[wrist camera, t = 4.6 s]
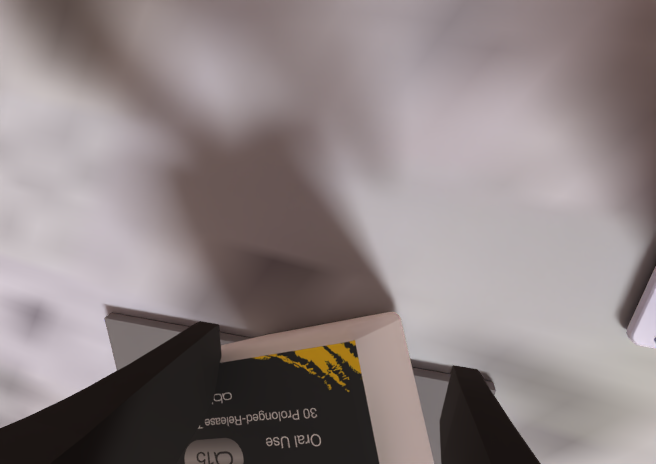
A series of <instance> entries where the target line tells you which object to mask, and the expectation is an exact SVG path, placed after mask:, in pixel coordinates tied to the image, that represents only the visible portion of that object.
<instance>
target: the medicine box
mask: <svg viewBox="0 0 656 464" xmlns="http://www.w3.org/2000/svg"><path fill="white" fill-rule="evenodd" d="M221 354H222V356H221V360H220V365H219V371H218V377H217V383H216V389H215V395H214V400H213V402H212V404H211V406H210V408H209V411H208V412H207V414H206V416H205V417H204V419H203V421H202V422H201V424H200V426H199V427H198V429H197V431H196V432H195V434H194V435H193V437H192V439H191V440H190V442H189V444H188V445H187V447H186V448H185V450H184V452H183V453H182V455H181V456H180V458H179V460H178V461H177V463H176V464H434V461H433V456H432V452H431V448H430V443H429V439H428V435H427V430H426V426H425V422H424V417H423V413H422V409H421V404H420V400H419V396H418V391H417V387H416V383H415V378H414V374H413V370H412V365H411V361H410V357H409V352H408V348H407V344H406V339H405V335H404V331H403V326H402V322H401V318H400V316H399V315H398V314H397V313H395V312H386V313H381V314H376V315H370V316H365V317H359V318H354V319H349V320H343V321H338V322H333V323H327V324H322V325H316V326H311V327H306V328H300V329H295V330H290V331H284V332H279V333H274V334H268V335H263V336H259V337H255V338H251V339H247V340H242V341H238V342H234V343H230V344H225V345H221Z"/></svg>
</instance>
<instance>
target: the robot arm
mask: <svg viewBox="0 0 656 464" xmlns="http://www.w3.org/2000/svg"><path fill="white" fill-rule="evenodd" d="M626 333H627V335H628V337H629V338H630V339H631V340H632V342H634V343H635V344H636V345H639V346H643V347H650V348H656V338H654V337H655V336H656V266H655V269H654V271H653V273H652V275H651V277H650V280H649V282H648V284H647V286H646V288H645V291H644V293H643V295H642V297H641V299H640V301H639V304H638V306H637V308H636V310H635V312H634V315H633V317H632V319H631V321H630V323H629V326H628V328H627V332H626ZM221 356H222V354H221V342H220V331H219V325H218V324H212V323H207V322H201V321H200V322H198V323H196V324H194V325H192V326H191V327H189V328H187V329H186V330H184V331H182V332H181V333H179V334H178V335H176V336H174V337H173V338H171V339H169V340H168V341H166V342H165V343H163V344H161V345H160V346H158V347H156V348H155V349H153V350H151V351H150V352H148V353H146V354H145V355H143V356H142V357H140V358H138V359H137V360H135V361H133V362H132V363H130V364H128V365H127V366H125V367H123V368H121V369H119V370H118V371H116V372H114V373H112V374H110V375H109V376H107V377H105V378H103V379H101V380H100V381H98V382H96V383H94V384H92V385H91V386H89V387H87V388H85V389H83V390H81V391H80V392H78V393H76V394H74V395H72V396H70V397H68V398H66V399H64V400H62V401H60V402H58V403H56V404H53V405H51V406H49V407H47V408H45V409H43V410H41V411H39V412H37V413H35V414H32V415H30V416H28V417H26V418H24V419H21V420H19V421H17V422H14V423H12V424H10V425H7V426H5V427H2V428H0V464H176V463H177V461H178V460H179V458H180V456H181V455H182V453H183V452H184V450H185V448H186V447H187V445H188V444H189V442H190V440H191V439H192V437H193V435H194V434H195V432H196V431H197V429H198V427H199V426H200V424H201V422H202V421H203V419H204V417H205V416H206V414H207V412H208V411H209V408H210V406H211V404H212V402H213V400H214V395H215V389H216V383H217V377H218V371H219V365H220V360H221ZM439 423H440V448H441V464H541V463H540V462H539V461H538V459H537V458H536V457H535V455H534V454H533V452H532V451H531V450H530V448H529V447H528V445H527V444H526V442H525V441H524V440H523V438H522V437H521V435H520V434H519V432H518V431H517V429H516V428H515V427H514V425H513V424H512V422H511V421H510V419H509V418H508V416H507V415H506V413H505V411H504V410H503V408H502V407H501V405H500V404H499V402H498V401H497V399H496V398H495V396H494V394H493V393H492V391H491V390H490V388H489V386H488V385H487V383H486V382H485V380H484V378H483V377H482V375H481V374H480V372H479V371H478V370H477V369H471V368H466V367H460V366H454V365H453V367H452V371H451V375H450V379H449V383H448V388H447V392H446V396H445V400H444V404H443V408H442V413H441V417H440V421H439Z"/></svg>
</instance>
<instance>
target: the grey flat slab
mask: <svg viewBox="0 0 656 464" xmlns="http://www.w3.org/2000/svg"><path fill="white" fill-rule="evenodd" d="M105 323H106V327H107V331H108V335H109V339H110V343H111V347H112V352H113V356H114V360H115V364H116V368H117V371H118V370H119V369H121V368H123V367H125V366H127V365H128V364H130V363H132V362H133V361H135V360H137V359H138V358H140V357H142V356H143V355H145V354H146V353H148V352H150V351H151V350H153V349H155V348H156V347H158V346H160V345H161V344H163V343H165V342H166V341H168V340H169V339H171V338H173V337H174V336H176V335H178V334H179V333H181V332H182V331H184V330H186V329H187V328H189V327H187V326H182V325H176V324H171V323H165V322H160V321H154V320H149V319H143V318H138V317H132V316H127V315H121V314H116V313H110V314H109V315H108V316H106V317H105ZM247 339H251V338H248V337H242V336H237V335H231V334H226V333H220V342H221V345H225V344H230V343H234V342H238V341H242V340H247ZM412 370H413V374H414V378H415V383H416V387H417V391H418V396H419V400H420V404H421V409H422V413H423V417H424V422H425V426H426V430H427V435H428V439H429V443H430V448H431V452H432V456H433V461H434V464H441V448H440V423H439V421H440V417H441V413H442V408H443V404H444V400H445V396H446V392H447V388H448V383H449V379H450V375H451V374H446V373H441V372H435V371H430V370H424V369H419V368H413V367H412ZM485 382H486V383H487V385H488V386H489V388H490V390H491V391H492V393H493V394H495V391H496V390H495V387H494V383H493V382H490V381H485Z"/></svg>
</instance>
